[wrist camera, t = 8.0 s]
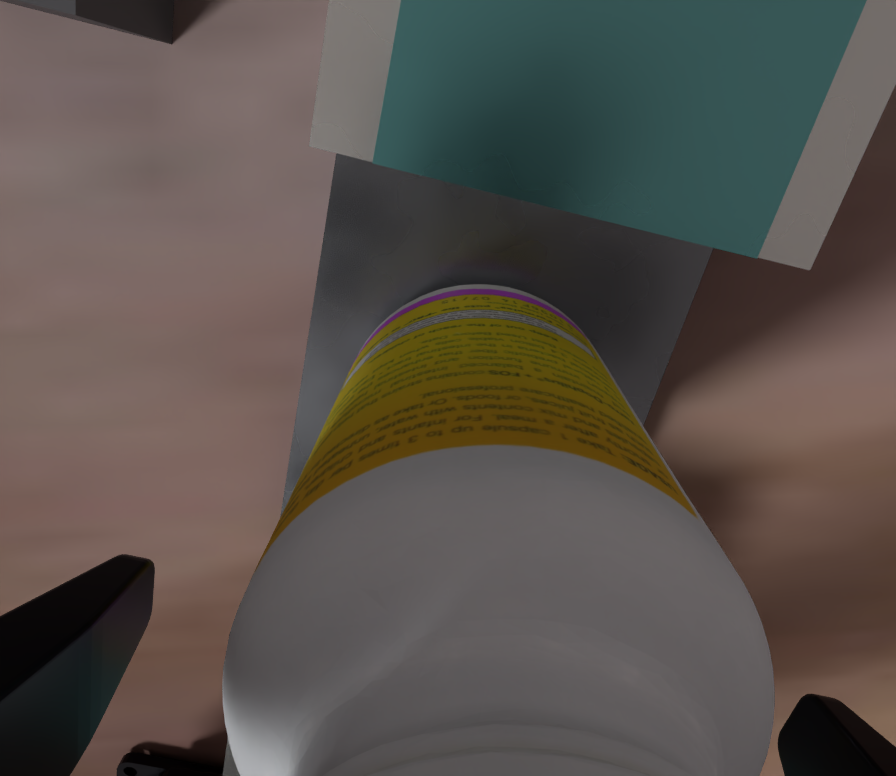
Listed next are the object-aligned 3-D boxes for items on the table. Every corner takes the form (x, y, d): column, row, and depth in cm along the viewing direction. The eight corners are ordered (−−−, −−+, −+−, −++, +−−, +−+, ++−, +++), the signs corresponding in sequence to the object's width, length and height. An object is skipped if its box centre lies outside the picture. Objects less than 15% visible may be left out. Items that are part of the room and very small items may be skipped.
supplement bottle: (302, 343, 16) (-205, 979, 4) (548, 232, 15) (939, 638, 3) (417, 545, 18) (327, 1356, 6) (638, 462, 17) (1078, 1258, 5)
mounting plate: (529, 666, 22) (555, 882, 15) (273, 615, 21) (192, 819, 15) (772, 25, 14) (1014, -60, 8) (385, -81, 14) (316, -261, 7)
